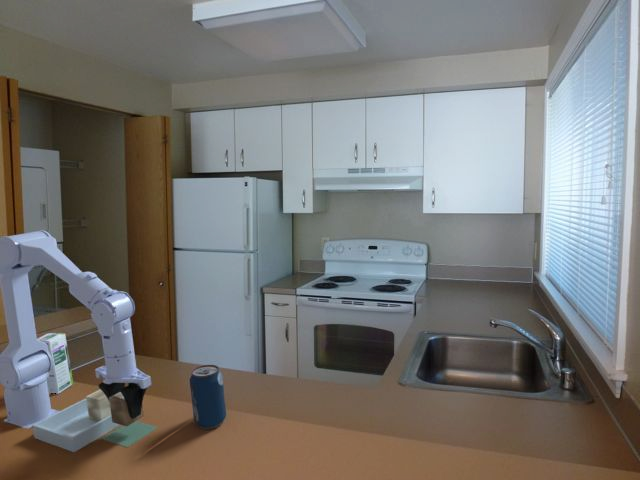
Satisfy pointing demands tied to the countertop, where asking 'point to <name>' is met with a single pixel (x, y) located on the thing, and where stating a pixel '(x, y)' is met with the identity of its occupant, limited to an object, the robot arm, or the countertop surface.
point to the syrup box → (58, 362)
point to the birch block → (98, 406)
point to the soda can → (207, 396)
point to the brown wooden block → (121, 410)
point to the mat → (129, 433)
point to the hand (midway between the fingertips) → (127, 413)
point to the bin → (72, 427)
